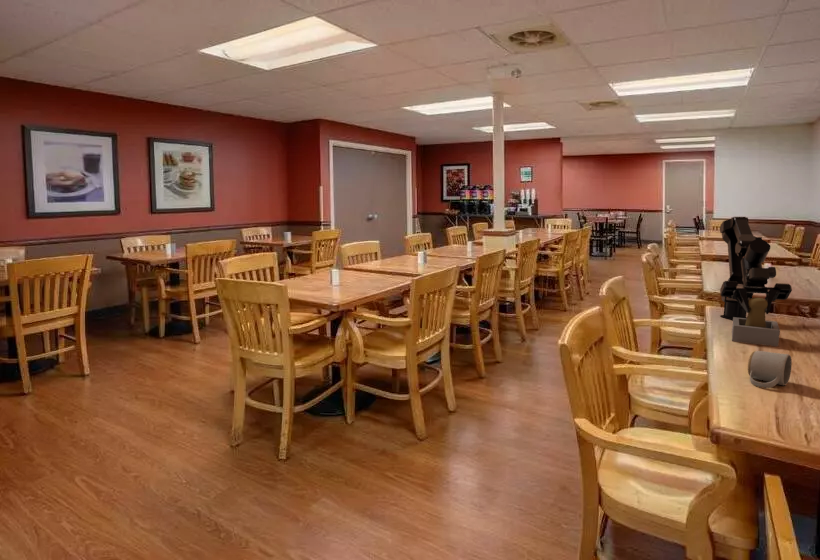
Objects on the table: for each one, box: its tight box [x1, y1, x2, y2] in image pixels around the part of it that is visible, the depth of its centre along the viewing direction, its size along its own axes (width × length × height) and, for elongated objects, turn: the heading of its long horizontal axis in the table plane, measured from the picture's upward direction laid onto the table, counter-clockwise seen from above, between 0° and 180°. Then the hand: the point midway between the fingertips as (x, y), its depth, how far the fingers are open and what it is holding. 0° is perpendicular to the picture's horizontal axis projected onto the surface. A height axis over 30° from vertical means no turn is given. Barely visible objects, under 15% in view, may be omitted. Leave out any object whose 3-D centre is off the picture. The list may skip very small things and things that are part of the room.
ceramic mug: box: [747, 350, 793, 389], centre depth 134 cm, size 11×8×8 cm
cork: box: [745, 297, 768, 328], centre depth 170 cm, size 6×6×11 cm
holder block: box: [731, 317, 781, 347], centre depth 170 cm, size 12×12×5 cm
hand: (757, 312), depth 168 cm, fingers closed on cork, 5 cm apart
